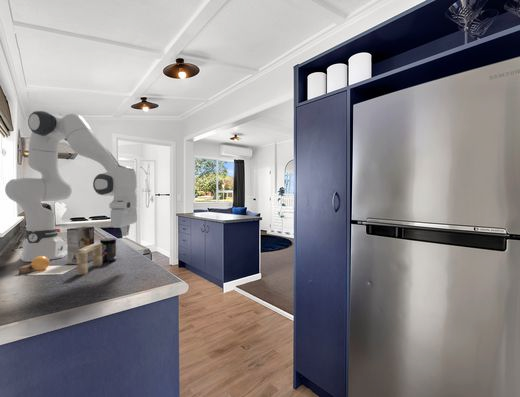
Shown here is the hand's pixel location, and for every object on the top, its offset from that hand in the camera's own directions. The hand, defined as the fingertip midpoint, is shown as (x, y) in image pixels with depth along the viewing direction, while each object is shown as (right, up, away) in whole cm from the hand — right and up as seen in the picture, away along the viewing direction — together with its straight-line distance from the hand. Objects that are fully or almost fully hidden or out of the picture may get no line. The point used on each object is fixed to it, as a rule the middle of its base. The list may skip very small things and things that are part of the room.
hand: (125, 235), depth 117 cm
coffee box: (-26, -14, +11) cm, 32 cm away
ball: (-33, -11, -4) cm, 35 cm away
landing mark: (-28, -14, -3) cm, 31 cm away
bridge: (-14, -14, -1) cm, 20 cm away
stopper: (-37, -14, -3) cm, 40 cm away
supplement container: (-14, -14, +13) cm, 24 cm away
